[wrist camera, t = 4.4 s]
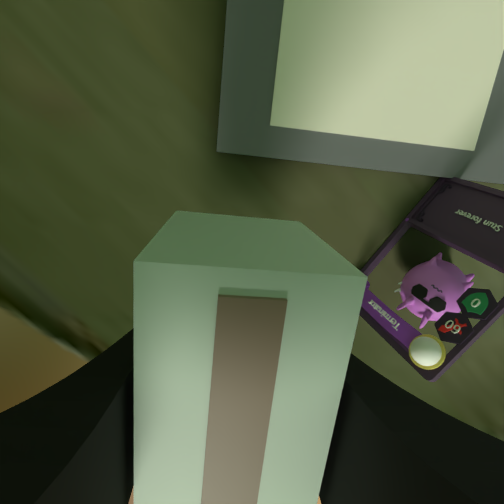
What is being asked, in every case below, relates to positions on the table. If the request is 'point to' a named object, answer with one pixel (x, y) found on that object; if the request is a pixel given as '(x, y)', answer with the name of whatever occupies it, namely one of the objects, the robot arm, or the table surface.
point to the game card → (443, 276)
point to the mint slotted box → (238, 359)
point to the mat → (367, 84)
